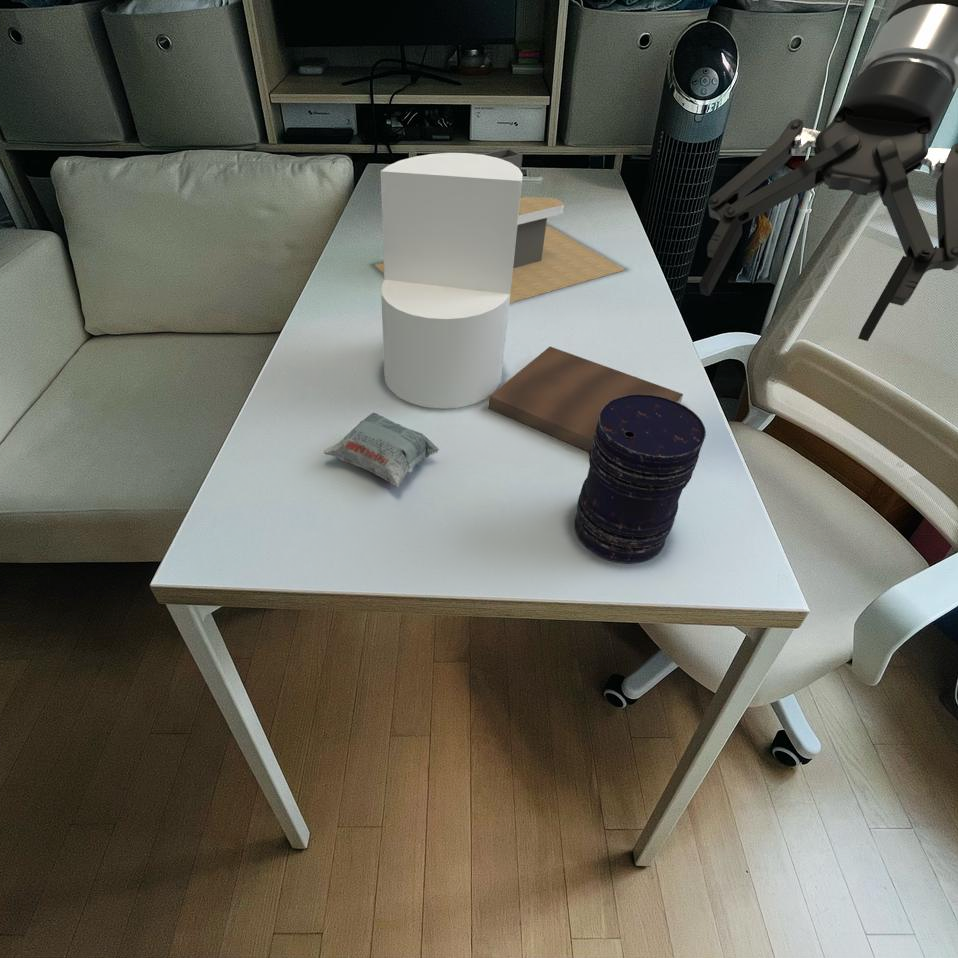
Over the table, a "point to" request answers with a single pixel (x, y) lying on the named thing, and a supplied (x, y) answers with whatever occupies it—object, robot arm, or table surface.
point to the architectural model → (546, 248)
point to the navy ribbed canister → (637, 476)
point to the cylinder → (447, 275)
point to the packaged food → (383, 448)
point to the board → (568, 395)
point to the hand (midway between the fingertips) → (779, 311)
